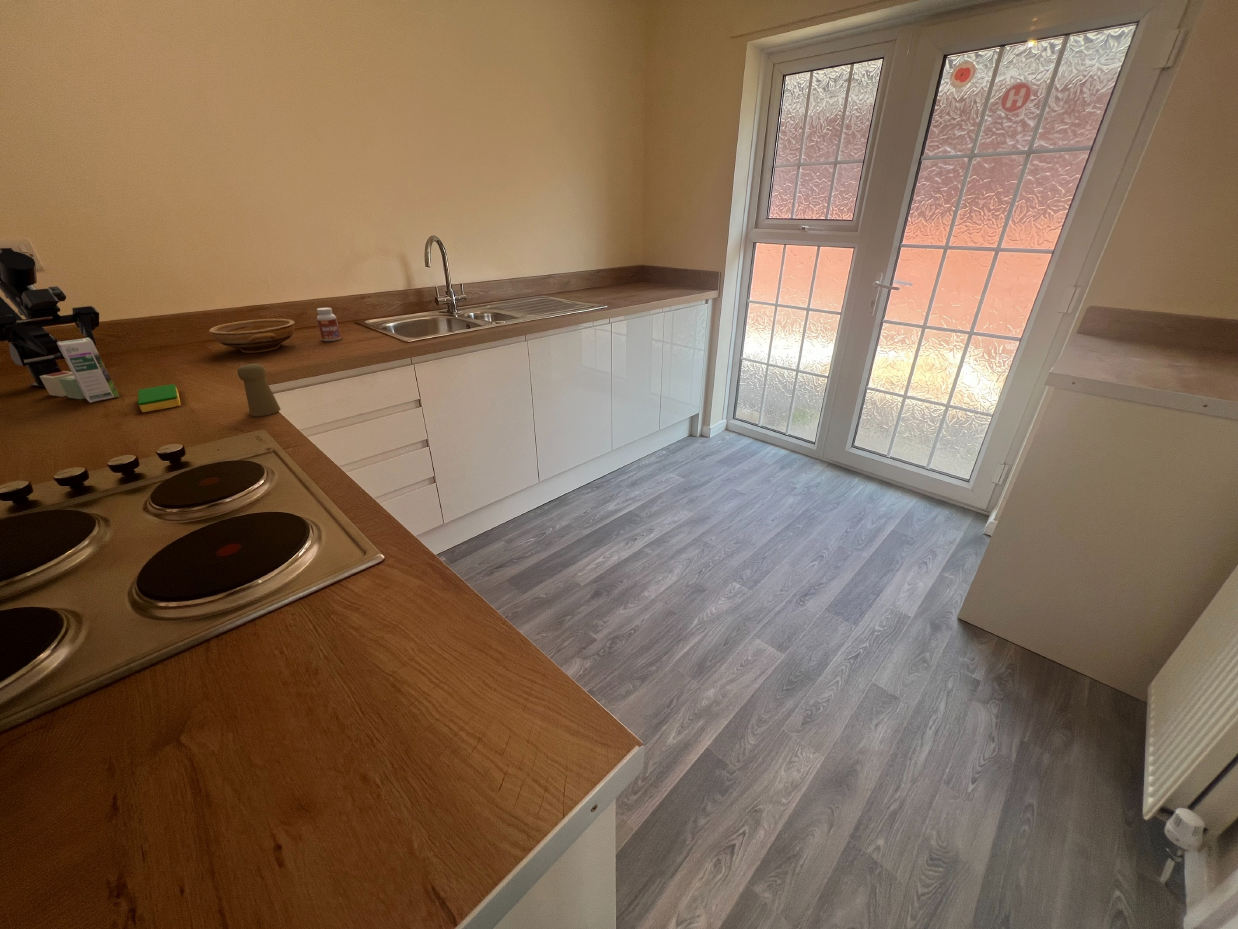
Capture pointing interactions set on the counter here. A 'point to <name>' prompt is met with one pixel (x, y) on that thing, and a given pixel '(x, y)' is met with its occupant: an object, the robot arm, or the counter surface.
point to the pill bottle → (328, 325)
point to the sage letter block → (71, 387)
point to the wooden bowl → (254, 334)
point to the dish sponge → (158, 398)
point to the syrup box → (88, 369)
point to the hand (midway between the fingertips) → (71, 349)
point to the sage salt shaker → (258, 390)
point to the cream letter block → (55, 383)
